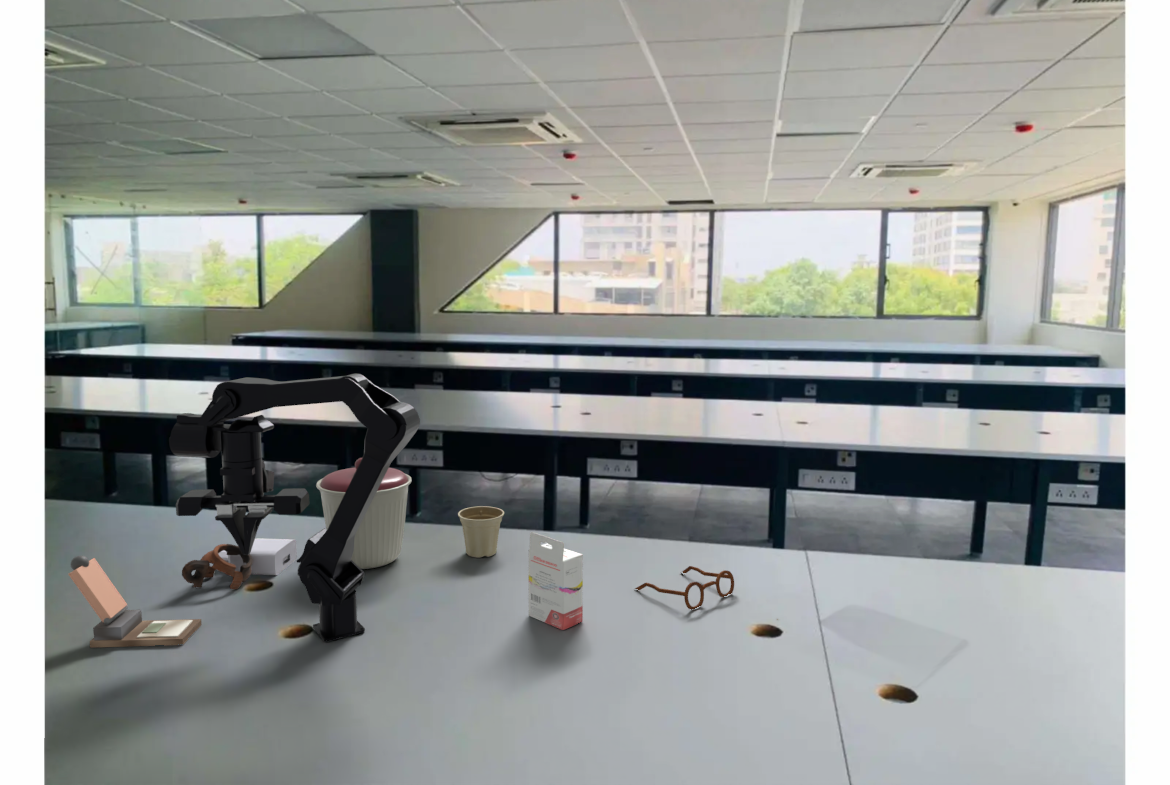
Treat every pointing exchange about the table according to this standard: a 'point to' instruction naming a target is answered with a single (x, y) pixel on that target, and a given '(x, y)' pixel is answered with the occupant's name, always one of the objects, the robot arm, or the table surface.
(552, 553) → the ink cartridge box
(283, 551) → the charger
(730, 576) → the glasses
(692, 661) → the table surface
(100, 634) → the switch unit
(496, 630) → the table surface
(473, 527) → the flower pot
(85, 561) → the toggle lever
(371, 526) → the canister
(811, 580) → the table surface
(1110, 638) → the table surface
